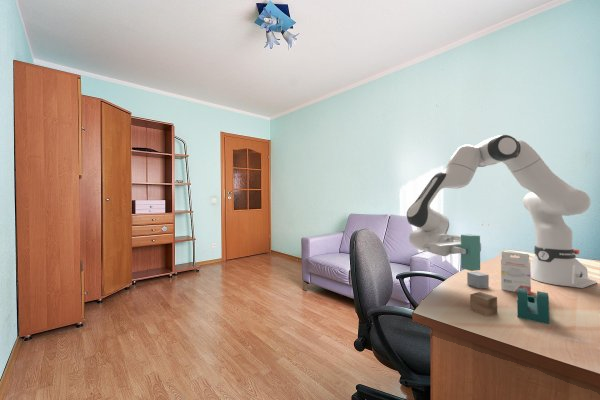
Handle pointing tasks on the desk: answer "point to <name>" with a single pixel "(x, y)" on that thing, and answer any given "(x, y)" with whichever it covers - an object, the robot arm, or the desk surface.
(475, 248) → the teal block
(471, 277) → the slate grey block
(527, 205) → the robot arm
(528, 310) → the bracket
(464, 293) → the desk surface
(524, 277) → the ink cartridge box
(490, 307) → the walnut block
